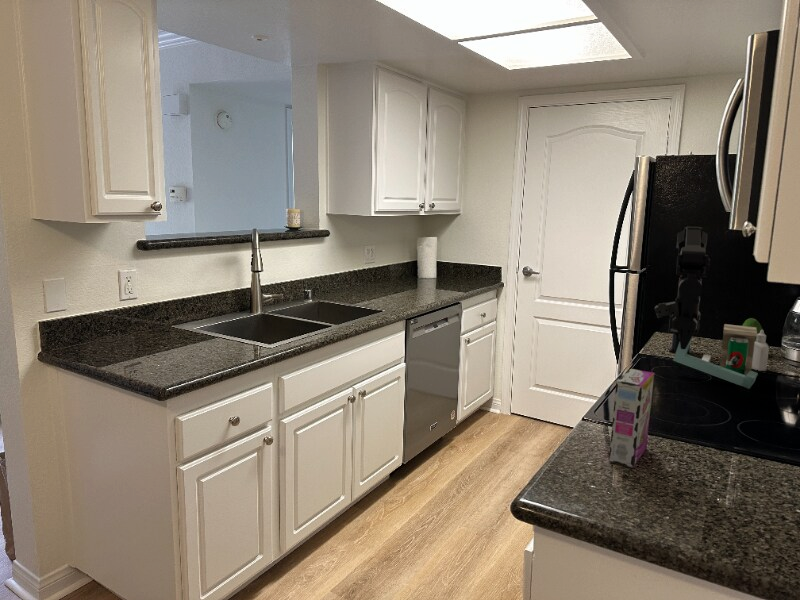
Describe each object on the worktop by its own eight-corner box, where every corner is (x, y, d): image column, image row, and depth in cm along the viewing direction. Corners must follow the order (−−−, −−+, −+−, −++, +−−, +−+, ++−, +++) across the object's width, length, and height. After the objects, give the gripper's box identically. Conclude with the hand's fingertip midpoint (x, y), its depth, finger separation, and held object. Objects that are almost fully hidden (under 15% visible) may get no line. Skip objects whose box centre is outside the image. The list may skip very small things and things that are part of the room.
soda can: (748, 380, 165) (753, 339, 163) (730, 380, 165) (735, 339, 163) (737, 375, 170) (742, 335, 168) (720, 375, 170) (725, 335, 168)
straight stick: (703, 360, 187) (704, 354, 186) (710, 361, 186) (711, 355, 185) (699, 367, 178) (700, 361, 178) (707, 368, 177) (707, 362, 177)
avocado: (738, 355, 192) (742, 319, 190) (732, 349, 200) (736, 315, 198) (765, 357, 190) (770, 321, 188) (758, 351, 197) (763, 316, 195)
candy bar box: (635, 469, 110) (642, 386, 107) (608, 462, 113) (614, 380, 110) (648, 449, 119) (655, 371, 116) (623, 443, 122) (629, 367, 119)
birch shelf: (719, 371, 173) (724, 324, 171) (750, 376, 169) (756, 327, 167) (718, 378, 166) (723, 329, 164) (750, 383, 162) (757, 332, 160)
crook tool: (681, 354, 176) (689, 329, 174) (754, 381, 164) (765, 355, 162) (673, 360, 169) (681, 335, 167) (749, 388, 158) (760, 362, 155)
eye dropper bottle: (749, 369, 175) (753, 331, 173) (749, 365, 180) (753, 327, 178) (766, 372, 173) (771, 332, 171) (765, 367, 178) (770, 329, 176)
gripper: (661, 287, 177) (657, 337, 180) (654, 296, 161) (649, 351, 164) (702, 291, 172) (697, 342, 174) (699, 300, 156) (693, 356, 159)
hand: (683, 347), depth 168 cm, fingers closed on crook tool, 3 cm apart
